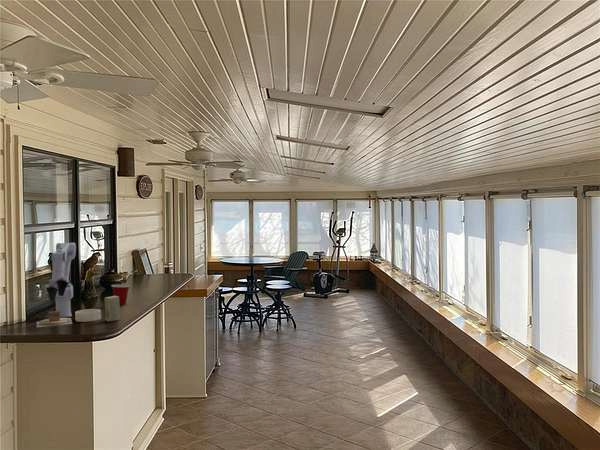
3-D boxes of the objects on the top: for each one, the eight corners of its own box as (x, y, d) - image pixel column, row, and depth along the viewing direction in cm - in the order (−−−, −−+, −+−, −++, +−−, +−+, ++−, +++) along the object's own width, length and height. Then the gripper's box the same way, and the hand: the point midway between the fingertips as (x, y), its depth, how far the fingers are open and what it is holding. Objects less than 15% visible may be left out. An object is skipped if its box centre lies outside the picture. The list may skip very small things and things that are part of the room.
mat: (36, 322, 269) (36, 321, 269) (70, 318, 277) (70, 318, 277) (36, 328, 255) (36, 327, 255) (72, 324, 262) (72, 323, 262)
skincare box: (115, 318, 275) (115, 295, 274) (120, 319, 272) (119, 296, 272) (104, 320, 270) (103, 297, 269) (109, 321, 267) (108, 297, 267)
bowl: (75, 319, 276) (74, 310, 276) (99, 316, 281) (99, 308, 281) (76, 323, 265) (76, 314, 265) (101, 320, 270) (101, 311, 270)
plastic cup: (131, 305, 316) (130, 285, 315) (112, 306, 312) (111, 286, 311) (129, 302, 326) (129, 283, 325) (111, 303, 322) (110, 284, 321)
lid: (38, 321, 269) (38, 310, 269) (68, 318, 275) (68, 308, 275) (39, 326, 256) (38, 315, 256) (70, 323, 263) (69, 312, 263)
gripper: (43, 276, 271) (41, 301, 265) (58, 266, 264) (57, 291, 258) (55, 279, 277) (54, 303, 270) (71, 269, 270) (70, 294, 263)
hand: (56, 298), depth 264 cm, fingers open, 7 cm apart
